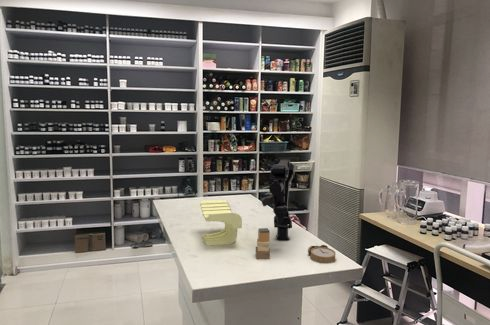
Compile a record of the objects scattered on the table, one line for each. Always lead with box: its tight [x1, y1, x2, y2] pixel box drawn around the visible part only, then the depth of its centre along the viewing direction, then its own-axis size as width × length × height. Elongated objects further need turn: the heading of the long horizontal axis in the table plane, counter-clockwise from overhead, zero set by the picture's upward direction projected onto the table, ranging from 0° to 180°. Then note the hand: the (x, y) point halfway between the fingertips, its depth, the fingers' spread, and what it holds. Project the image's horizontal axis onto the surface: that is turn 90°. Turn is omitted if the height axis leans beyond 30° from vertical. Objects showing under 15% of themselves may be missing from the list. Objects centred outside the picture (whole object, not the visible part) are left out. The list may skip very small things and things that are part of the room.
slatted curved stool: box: [199, 199, 243, 246], centre depth 201 cm, size 30×16×18 cm, turn 14°
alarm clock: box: [307, 244, 337, 264], centre depth 179 cm, size 11×5×15 cm
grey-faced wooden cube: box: [257, 227, 271, 243], centre depth 177 cm, size 4×4×5 cm
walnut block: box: [255, 246, 271, 260], centre depth 178 cm, size 6×6×4 cm
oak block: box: [256, 238, 270, 251], centre depth 177 cm, size 5×5×4 cm
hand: (278, 222), depth 188 cm, fingers open, 9 cm apart
